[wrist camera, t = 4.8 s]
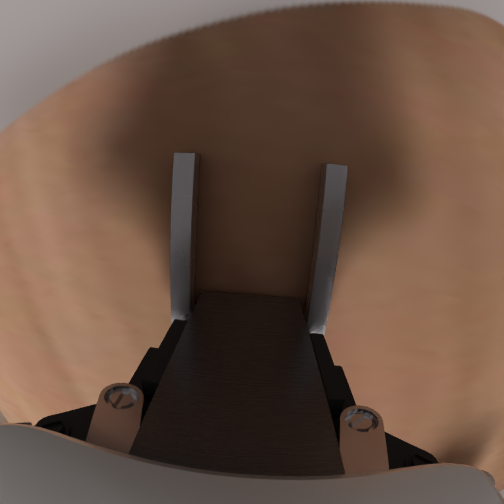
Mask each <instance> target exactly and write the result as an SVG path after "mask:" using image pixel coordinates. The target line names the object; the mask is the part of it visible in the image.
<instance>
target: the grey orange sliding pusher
mask: <svg viewBox="0 0 504 504" xmlns="http://www.w3.org/2000/svg"><path fill="white" fill-rule="evenodd" d="M128 454H129V455H133V456H136V457H140V458H145V459H149V460H153V461H158V462H162V463H167V464H172V465H178V466H183V467H189V468H195V469H202V470H209V471H217V472H226V473H236V474H248V475H264V476H327V475H343V474H345V470H344V466H343V461H342V457H341V453H340V449H339V445H338V441H337V437H336V433H335V429H334V425H333V421H332V417H331V413H330V409H329V405H328V402H327V398H326V394H325V390H324V386H323V383H322V379H321V375H320V371H319V368H318V364H317V360H316V357H315V353H314V349H313V346H312V342H311V339H310V335H309V332H308V328H307V325H306V321H305V318H304V314H303V311H302V307H301V304H300V300H299V298H290V297H275V296H261V295H248V294H235V293H224V292H212V291H202V292H201V295H200V297H199V299H198V301H197V303H196V305H195V307H194V309H193V311H192V313H191V316H190V318H189V320H188V322H187V324H186V326H185V328H184V330H183V333H182V335H181V337H180V339H179V341H178V343H177V346H176V348H175V350H174V352H173V354H172V356H171V359H170V361H169V363H168V365H167V367H166V369H165V372H164V374H163V376H162V378H161V381H160V383H159V385H158V387H157V389H156V392H155V394H154V396H153V398H152V401H151V403H150V405H149V407H148V410H147V412H146V414H145V416H144V419H143V421H142V423H141V426H140V428H139V430H138V433H137V435H136V437H135V439H134V442H133V444H132V446H131V449H130V451H129V453H128Z"/></svg>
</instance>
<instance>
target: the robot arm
mask: <svg viewBox="0 0 504 504" xmlns="http://www.w3.org/2000/svg"><path fill="white" fill-rule="evenodd" d="M187 322H188V321H186V320H179V319H175V320H174V321H173V323H172V325H171V326H170V328H169V330H168V332H167V334H166V335H165V337H164V339H163V341H162V343H161V345H160V346H159V348H153V347H150V348H149V350H148V351H147V353H146V355H145V356H144V358H143V360H142V361H141V363H140V365H139V366H138V368H137V370H136V372H135V373H134V375H133V377H132V379H131V380H130V382H129V384H128V383H115V384H111V385H109V386H107V387H105V388H104V389H103V390H102V391H101V393H100V395H99V398H98V402H97V404H94V405H90V406H87V407H83V408H79V409H75V410H71V411H68V412H63V413H59V414H55V415H51V416H47V417H45V418H42V419H41V420H40V421H38V423H37V424H36V425H35V426H32V424H31V422H27V423H0V504H504V498H503V497H502V495H501V494H500V492H499V490H498V489H497V487H496V486H495V480H494V478H493V476H492V475H491V474H490V473H488V472H486V471H484V470H480V469H478V468H476V467H473V466H470V465H464V464H453V463H447V462H442V463H440V464H438V462H437V460H436V458H435V457H434V456H433V455H432V454H430V453H428V452H426V451H424V450H422V449H420V448H418V447H415V446H413V445H411V444H409V443H407V442H405V441H403V440H401V439H399V438H396V437H394V436H392V435H390V434H388V433H386V432H384V425H383V420H382V417H381V416H380V415H379V413H378V412H376V411H375V410H373V409H371V408H369V407H365V406H356V403H355V401H354V398H353V395H352V393H351V390H350V387H349V384H348V382H347V379H346V376H345V374H344V371H343V369H342V367H341V366H334V363H333V360H332V358H331V355H330V352H329V349H328V346H327V343H326V341H325V338H324V335H323V334H319V333H309V335H310V339H311V342H312V346H313V349H314V353H315V357H316V360H317V364H318V368H319V371H320V375H321V379H322V383H323V386H324V390H325V394H326V398H327V402H328V405H329V409H330V413H331V417H332V421H333V425H334V429H335V433H336V437H337V441H338V445H339V449H340V453H341V457H342V461H343V466H344V470H345V474H343V475H327V476H264V475H248V474H236V473H226V472H217V471H209V470H202V469H195V468H189V467H183V466H178V465H172V464H167V463H162V462H158V461H153V460H149V459H145V458H140V457H136V456H133V455H129V454H128V453H129V451H130V449H131V446H132V444H133V442H134V439H135V437H136V435H137V433H138V430H139V428H140V426H141V423H142V421H143V419H144V416H145V414H146V412H147V410H148V407H149V405H150V403H151V401H152V398H153V396H154V394H155V392H156V389H157V387H158V385H159V383H160V381H161V378H162V376H163V374H164V372H165V369H166V367H167V365H168V363H169V361H170V359H171V356H172V354H173V352H174V350H175V348H176V346H177V343H178V341H179V339H180V337H181V335H182V333H183V330H184V328H185V326H186V324H187Z"/></svg>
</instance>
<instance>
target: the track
mask: <svg viewBox="0 0 504 504" xmlns="http://www.w3.org/2000/svg"><path fill="white" fill-rule="evenodd" d="M199 165H200V155H199V154H196V153H174V161H173V178H172V200H171V242H170V277H171V318H172V323H173V321H174V320H175V319H179V320H186V321H188V320H189V318H190V316H191V313H192V311H193V309H194V307H195V253H196V223H197V200H198V182H199ZM347 170H348V166H344V165H337V164H329V163H325V164H322V167H321V179H320V190H319V200H318V210H317V219H316V229H315V237H314V246H313V254H312V262H311V270H310V277H309V284H308V291H307V298H306V305H305V312H304V318H305V321H306V325H307V328H308V332H309V333H319V334H323V335H324V333H325V328H326V323H327V318H328V312H329V307H330V301H331V295H332V289H333V283H334V277H335V271H336V264H337V257H338V250H339V243H340V235H341V227H342V219H343V211H344V202H345V192H346V182H347Z"/></svg>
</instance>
